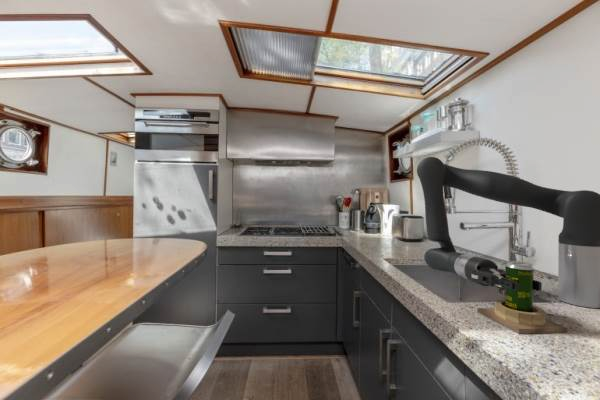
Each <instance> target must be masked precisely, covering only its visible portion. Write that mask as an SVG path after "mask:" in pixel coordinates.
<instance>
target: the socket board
mask: <svg viewBox="0 0 600 400" xmlns="http://www.w3.org/2000/svg"><path fill="white" fill-rule="evenodd" d="M477 313H478V314H480V315H483V316H484V317H486V318H488V319H490V320H492V321H494V322H496V323H498V324H500V325H502V326H504V327H506V328H507V329H509V330H511V331H513V332H515V333H517V334H540V333H541V334H543V333H544V334H545V333H547V334H548V333H551V334H552V333H567V332H568V326H565V325H563V324H560V323H558V322H555V321H552V320H550V319H547V318H546V315H547V314H546V313H547V312H546V311H545V310H544V309H543V308H542V307H539V306H536V305H534V304H533V312H532V313H529V312H522V311H517V310H513V309H509V308H507V307H505V299H499V300H498V299H497V300H496V301H494V307H479V308H477Z"/></svg>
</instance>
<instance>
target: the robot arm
mask: <svg viewBox="0 0 600 400" xmlns="http://www.w3.org/2000/svg"><path fill="white" fill-rule="evenodd" d="M416 174H417V177H418V179H419V182H420V184H421V188H422V193H423V198H424V199H423V200H424V208H425V210H424V211H425V213H424V214H425V226H426V235H427V239H428V240H429V241H431V242H436V243H438V244H439V245H440V247H434V248H433V247H432V248H429V249H427V250H426V251H425V253H424V254H423V255H424V256H423V257H424V258H423V259H424V262H425V264H426V266H428V267H429V268H430V269H433V270H435V271H440V272H447V273H451V274H454V275H457V276H459V277H462V278H463V279H465V280H467V281H470V282H472V283H475V284H478V285H480V286H483V287H495V286H496V287H499V288H504V289H505V288H507V289H510V290H513V291H519V283H518V282H517V281H514V280H510V279H507V278H505V271H506V268H502V267H498V265H497V263H495V262H494V261H493V260H492V259H487V258H484V257H480V256H476V255H474V254H473V255H471V254H465V253H461V252H457V251H456V248H455V246H454V244H453V241H452V239H451V236H450V231H449V221H448V215H447V211H446V204H445V198H444V197H445V195H444V187H447V188H453V189H456V190H459V191H462V192H465V193H468V194H471V195H473V196H476V197H480V198H484V199H487V200H491V201H494V202H498V203H504V204H508V205H515V206H517V207H518V206H519V207H520V206H521V207H525V208H531V209H534V210H535V209H536V210H538V211H542V212H544V213H548V214H551V215H554V216H556V217H558V218H559V217H560V218H562V219H563V224H562V230H561V232H560V233H559V234H558V242H557V243H558V249H557V250H558V252H557V253H558V256H557V257H558V266H557V267H558V272H557V273H558V277H557V280H558V281H557V282H558V284H557V286H558V287H557V293H558V296H557V299H558V300H559V301H562V302H564V303H566V304H570V305H573V306H574V305H575V306H578V307H579V306H580V307H583V308H585V307H586V308H589V309H590V308H593V309H595V308H596V309H598V308H599V309H600V193H598V192H595V191H593V190H585V189H584V190H583V189H582V190H574V191H572V190H571V191H570V190H562V189H557V188H556V189H555V188H549V187H545V186H540V185H537V184H535V183H532V182H530V181H527V180H525V179H522V178H519V177H517V176H515V175H511V174H507V173H506V174H505V173H501V172H496V171H491V170H490V171H489V170H481V169H466V168H460V167H456V166H453V165H449V164H445V163H444V162H443V161H442V160H441V159H439V158H438V157H435V156H428V157H425V158H423V159H422V160H421V161H419V163H418V165H417V168H416ZM542 283H543V282H541V281H539V280H536V279H533V291H537V292H539V291H540V292H541V291H542V286H543V285H542Z"/></svg>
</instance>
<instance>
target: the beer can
mask: <svg viewBox="0 0 600 400" xmlns="http://www.w3.org/2000/svg"><path fill="white" fill-rule="evenodd" d="M505 270H506V271H505V278H507V279H510V280H514V281H517V282H518V283H519V291H513V290H510V289H507V288H505V287H504V289H505V290H504V300H505V307H507V308H509V309H513V310H517V311H522V312H529V313H532V312H533V305H534V290H533V280H534V267H533V264H532V263H529V262H524V261H517V260H506V264H505Z"/></svg>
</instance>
